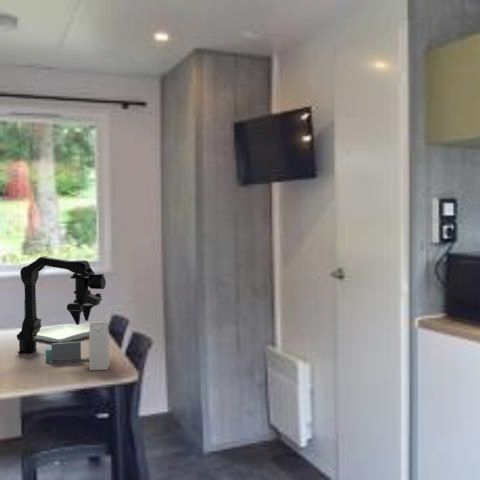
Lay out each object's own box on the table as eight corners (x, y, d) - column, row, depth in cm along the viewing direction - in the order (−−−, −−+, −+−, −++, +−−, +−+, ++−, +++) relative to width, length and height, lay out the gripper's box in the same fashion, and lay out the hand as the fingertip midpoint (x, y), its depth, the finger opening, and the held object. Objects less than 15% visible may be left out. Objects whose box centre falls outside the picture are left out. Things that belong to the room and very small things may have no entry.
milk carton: (92, 365, 252) (91, 321, 250) (109, 365, 252) (108, 320, 251) (89, 370, 245) (88, 324, 243) (107, 370, 245) (106, 324, 244)
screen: (51, 360, 256) (51, 344, 255) (51, 359, 257) (51, 343, 256) (80, 358, 259) (80, 342, 259) (80, 357, 260) (80, 341, 260)
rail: (49, 364, 254) (49, 361, 254) (49, 361, 258) (49, 359, 258) (100, 360, 260) (100, 357, 260) (99, 357, 264) (99, 355, 264)
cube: (45, 361, 258) (45, 350, 258) (46, 358, 263) (45, 347, 263) (58, 360, 260) (57, 349, 259) (57, 358, 265) (57, 346, 264)
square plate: (101, 335, 310) (101, 328, 309) (59, 346, 287) (59, 338, 286) (65, 329, 324) (65, 322, 324) (23, 339, 301) (22, 332, 301)
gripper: (90, 292, 259) (90, 327, 260) (106, 286, 278) (107, 319, 279) (66, 291, 261) (66, 326, 262) (84, 285, 280) (84, 318, 281)
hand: (82, 322), depth 271 cm, fingers open, 9 cm apart
